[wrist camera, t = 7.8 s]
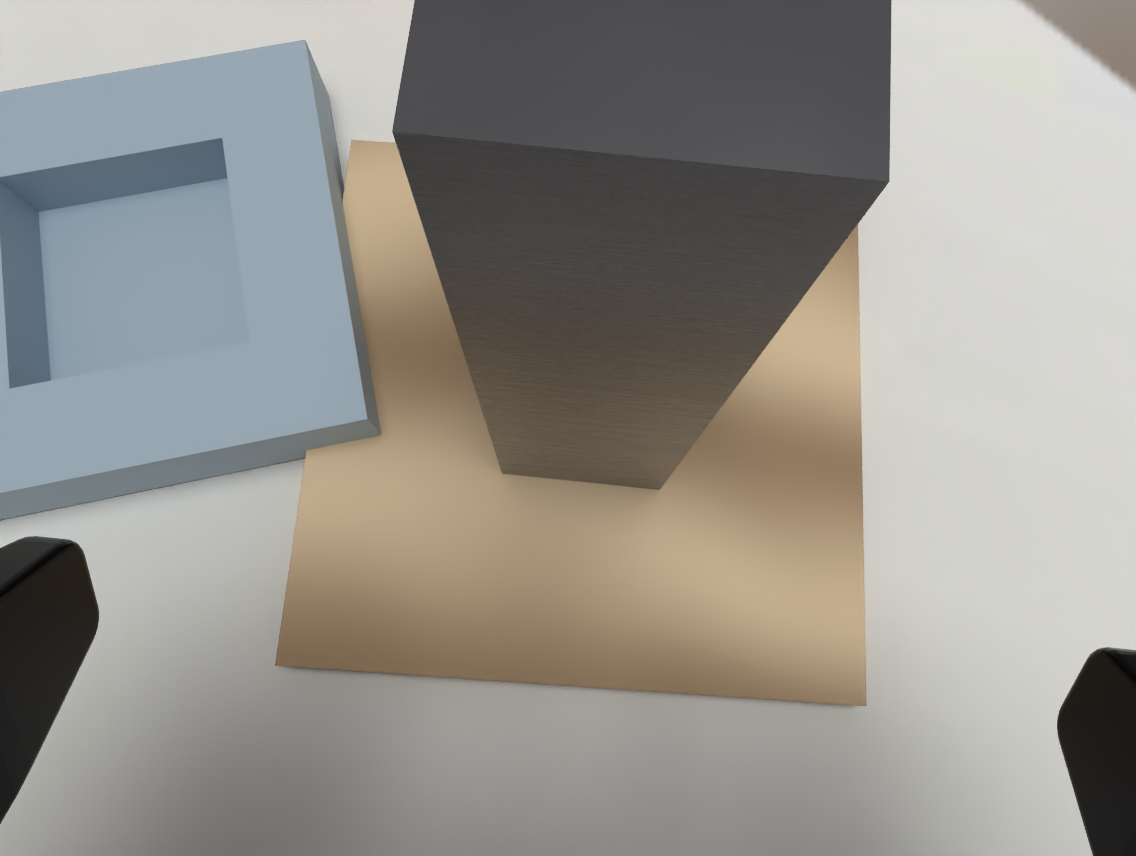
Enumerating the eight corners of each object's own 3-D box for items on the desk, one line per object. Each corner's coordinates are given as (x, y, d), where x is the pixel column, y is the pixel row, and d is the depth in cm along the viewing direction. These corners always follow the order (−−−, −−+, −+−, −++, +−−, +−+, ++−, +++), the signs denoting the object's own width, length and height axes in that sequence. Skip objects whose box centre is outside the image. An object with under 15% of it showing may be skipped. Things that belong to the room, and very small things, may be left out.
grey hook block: (659, 490, 18) (888, 182, 6) (502, 473, 18) (392, 130, 6) (680, 227, 19) (896, -468, 7) (534, 212, 19) (501, -505, 7)
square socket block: (386, 441, 19) (367, 419, 17) (-27, 525, 18) (-96, 512, 16) (328, 95, 21) (305, 39, 19) (-44, 160, 20) (-108, 110, 18)
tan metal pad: (855, 703, 18) (866, 706, 17) (284, 664, 18) (275, 665, 17) (848, 188, 20) (856, 175, 20) (357, 153, 20) (351, 139, 20)
